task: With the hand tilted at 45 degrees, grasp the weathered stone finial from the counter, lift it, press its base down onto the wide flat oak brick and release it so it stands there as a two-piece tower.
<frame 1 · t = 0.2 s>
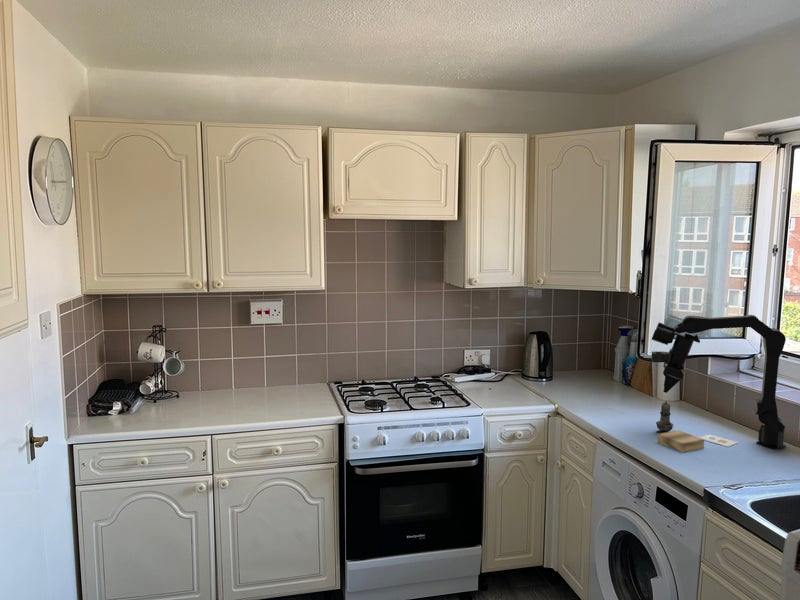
hand: (664, 389, 209), 15 cm above the countertop, tool tilted 15°, fingers open, 9 cm apart
weathered stone finial: (664, 433, 208), on the countertop
instruction card: (718, 440, 200), on the countertop
base brick: (680, 445, 195), on the countertop
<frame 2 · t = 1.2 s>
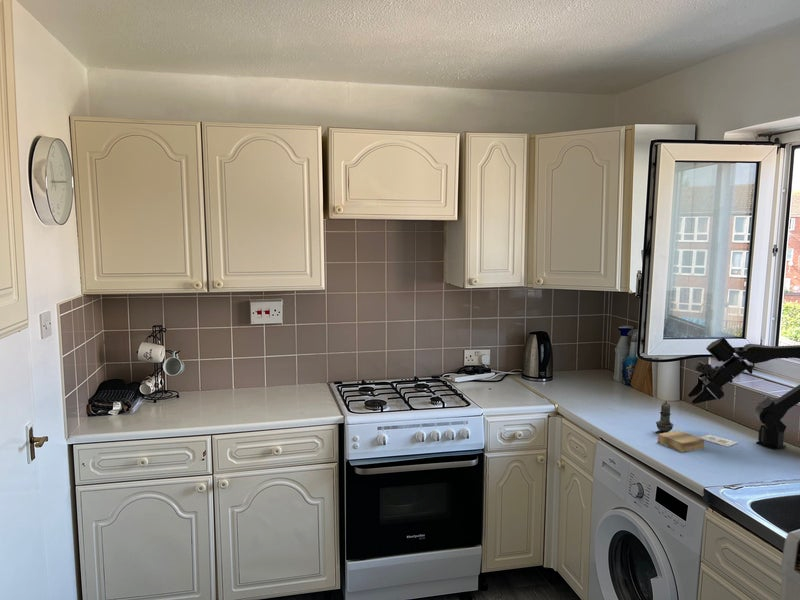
hand: (690, 399, 204), 13 cm above the countertop, tool tilted 45°, fingers open, 9 cm apart
nothing on the countertop moved.
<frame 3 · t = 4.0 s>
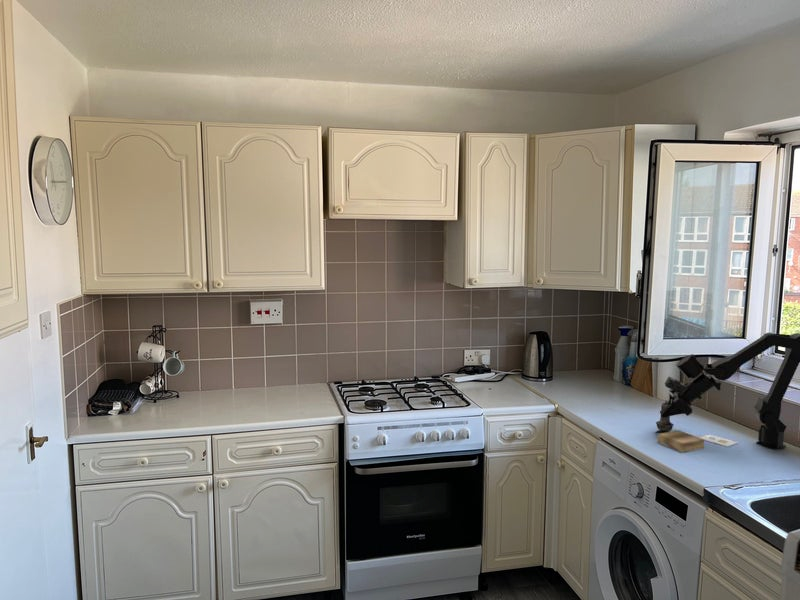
hand: (661, 415, 207), 7 cm above the countertop, tool tilted 45°, fingers closed on weathered stone finial, 4 cm apart
weathered stone finial: (664, 433, 208), on the countertop, touching gripper
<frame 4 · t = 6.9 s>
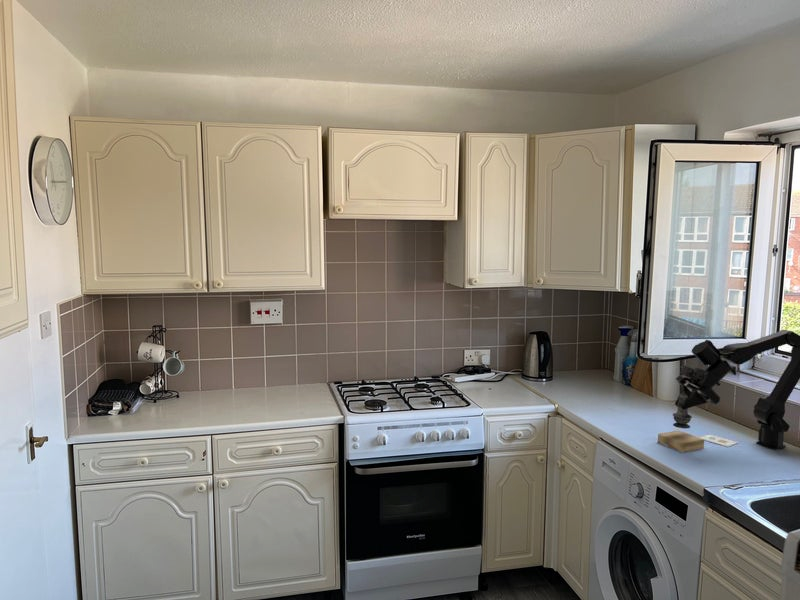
hand: (678, 406, 194), 13 cm above the countertop, tool tilted 45°, fingers closed on weathered stone finial, 4 cm apart
weathered stone finial: (681, 426, 195), point 6 cm above the countertop, touching gripper
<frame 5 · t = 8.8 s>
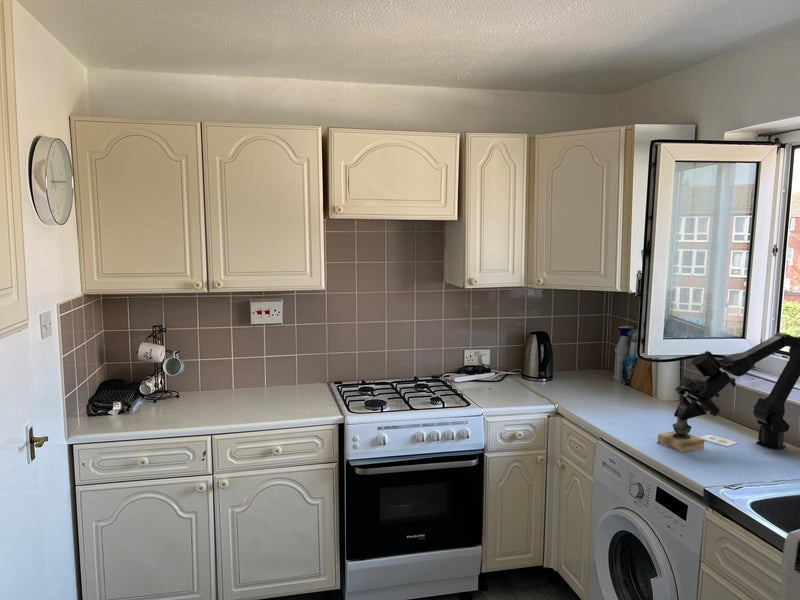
hand: (677, 417, 194), 10 cm above the countertop, tool tilted 45°, fingers closed on weathered stone finial, 4 cm apart
weathered stone finial: (681, 436, 195), point 3 cm above the countertop, touching base brick, gripper
when the fingers open (10 cm above the countertop, at t = 9.8 s): weathered stone finial stays where it is, resting on base brick.
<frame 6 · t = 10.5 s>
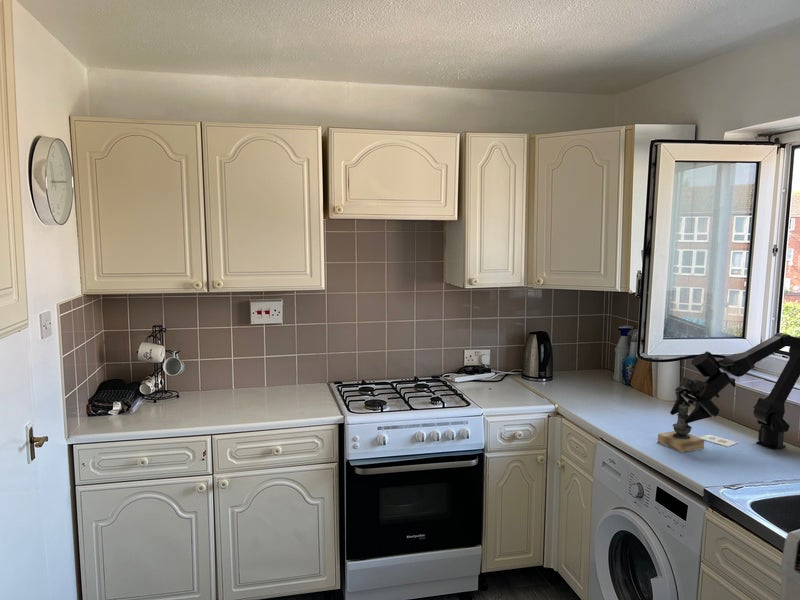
hand: (678, 418, 194), 9 cm above the countertop, tool tilted 45°, fingers open, 9 cm apart
weathered stone finial: (681, 437, 195), point 3 cm above the countertop, touching base brick
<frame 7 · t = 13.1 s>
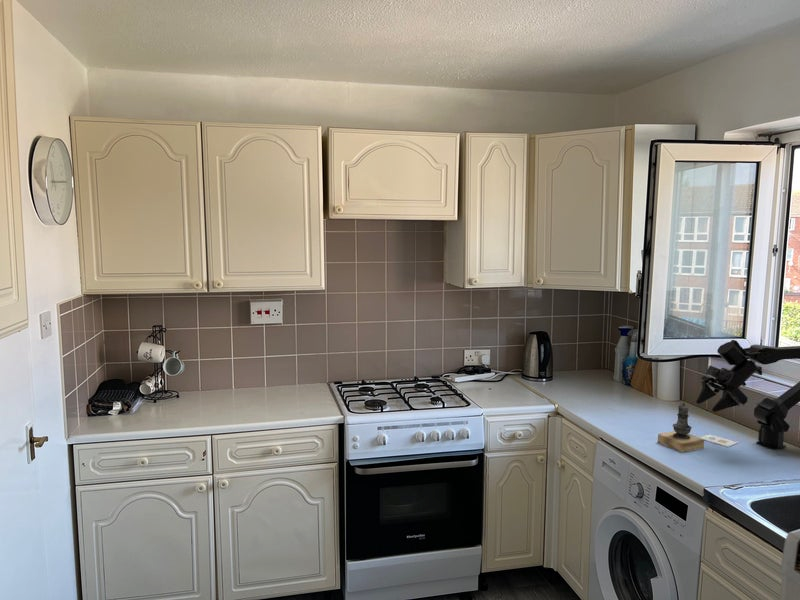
hand: (704, 407, 194), 13 cm above the countertop, tool tilted 45°, fingers open, 9 cm apart
nothing on the countertop moved.
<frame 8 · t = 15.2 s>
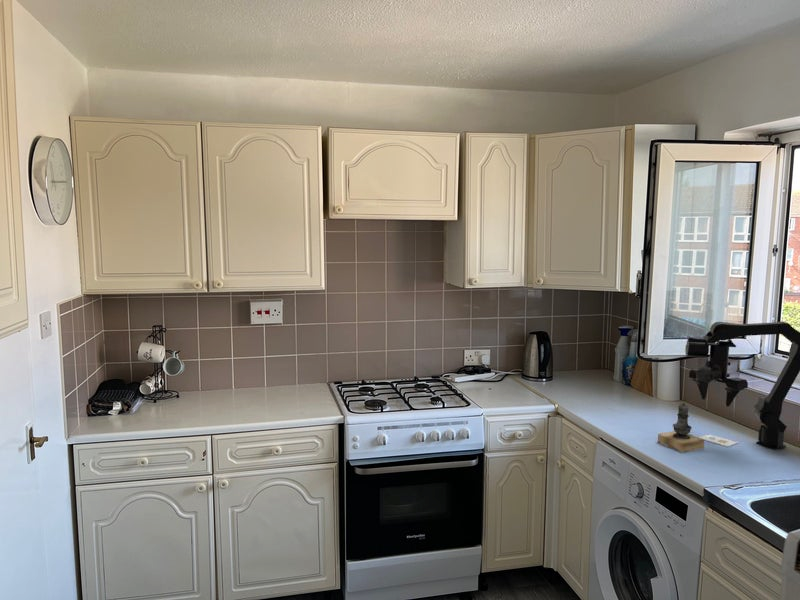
hand: (715, 402, 201), 13 cm above the countertop, tool pointing down, fingers open, 9 cm apart
nothing on the countertop moved.
at the end: weathered stone finial 0.3 cm from the base brick (horizontally); weathered stone finial point 2.8 cm above the countertop; weathered stone finial tilted 0° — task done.
